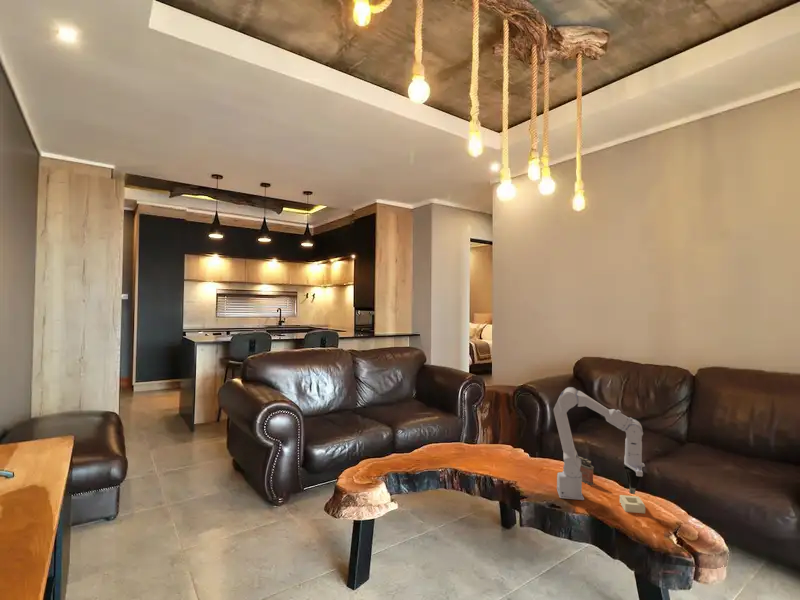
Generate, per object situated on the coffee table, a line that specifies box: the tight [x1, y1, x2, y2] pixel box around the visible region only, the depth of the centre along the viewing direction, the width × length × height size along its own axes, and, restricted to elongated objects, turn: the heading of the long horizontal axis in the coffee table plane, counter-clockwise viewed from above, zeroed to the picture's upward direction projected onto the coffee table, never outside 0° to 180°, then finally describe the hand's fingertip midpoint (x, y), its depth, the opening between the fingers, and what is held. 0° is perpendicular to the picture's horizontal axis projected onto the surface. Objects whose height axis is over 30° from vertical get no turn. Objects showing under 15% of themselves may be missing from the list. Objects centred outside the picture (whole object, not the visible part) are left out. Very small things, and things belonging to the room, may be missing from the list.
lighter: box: [579, 456, 595, 486], centre depth 187 cm, size 8×3×10 cm, turn 30°
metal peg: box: [628, 486, 636, 495], centre depth 165 cm, size 2×2×9 cm
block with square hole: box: [619, 494, 646, 514], centre depth 165 cm, size 7×7×3 cm
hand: (632, 486), depth 165 cm, fingers closed on metal peg, 2 cm apart
